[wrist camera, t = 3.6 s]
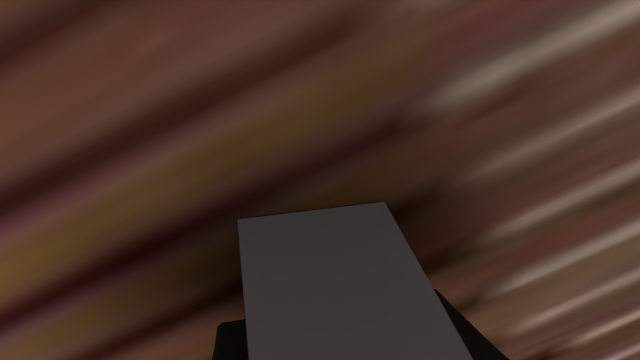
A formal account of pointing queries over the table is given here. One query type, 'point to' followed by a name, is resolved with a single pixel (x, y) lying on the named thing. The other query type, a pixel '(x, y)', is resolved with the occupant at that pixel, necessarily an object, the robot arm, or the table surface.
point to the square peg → (339, 289)
